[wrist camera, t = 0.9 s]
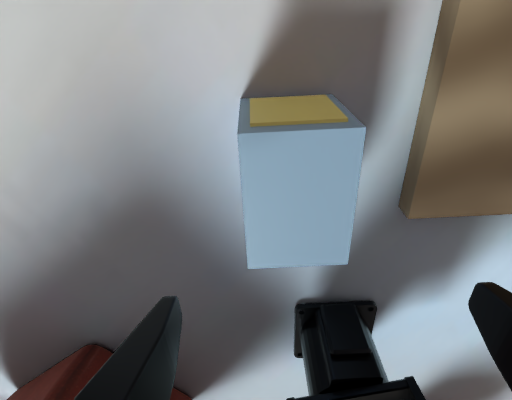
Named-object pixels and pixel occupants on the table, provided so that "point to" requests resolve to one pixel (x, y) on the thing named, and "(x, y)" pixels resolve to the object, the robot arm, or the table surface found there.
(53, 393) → the plant pot
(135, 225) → the table surface
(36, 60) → the table surface
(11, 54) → the table surface
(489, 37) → the shelf board
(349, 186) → the box
